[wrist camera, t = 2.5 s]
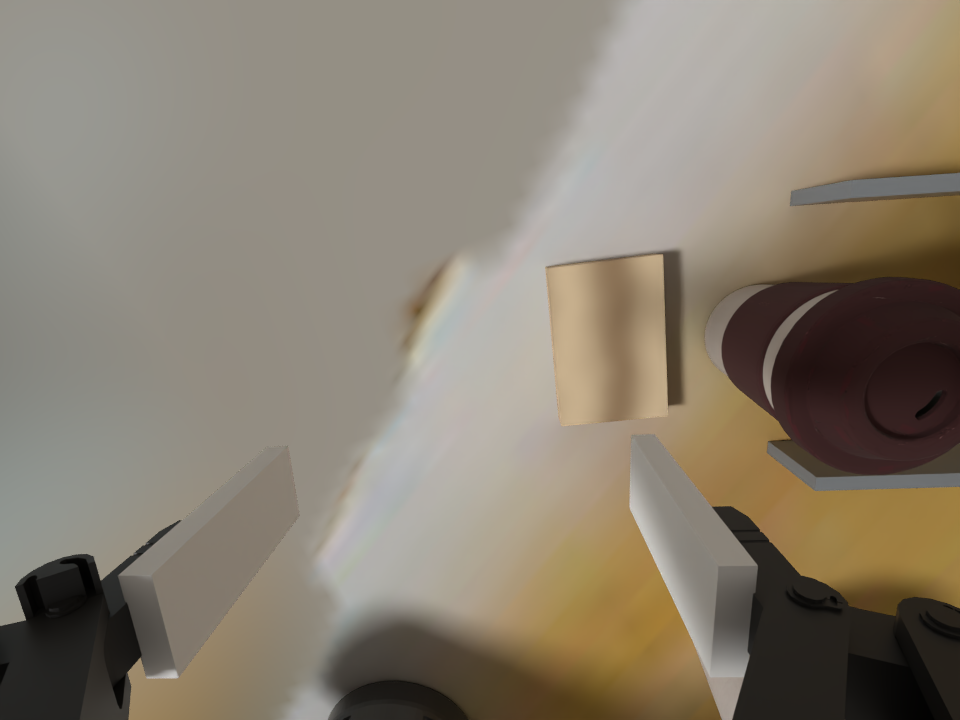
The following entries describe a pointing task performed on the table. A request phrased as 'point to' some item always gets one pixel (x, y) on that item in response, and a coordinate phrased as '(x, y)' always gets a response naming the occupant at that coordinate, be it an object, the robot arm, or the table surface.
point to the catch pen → (941, 472)
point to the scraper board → (609, 339)
